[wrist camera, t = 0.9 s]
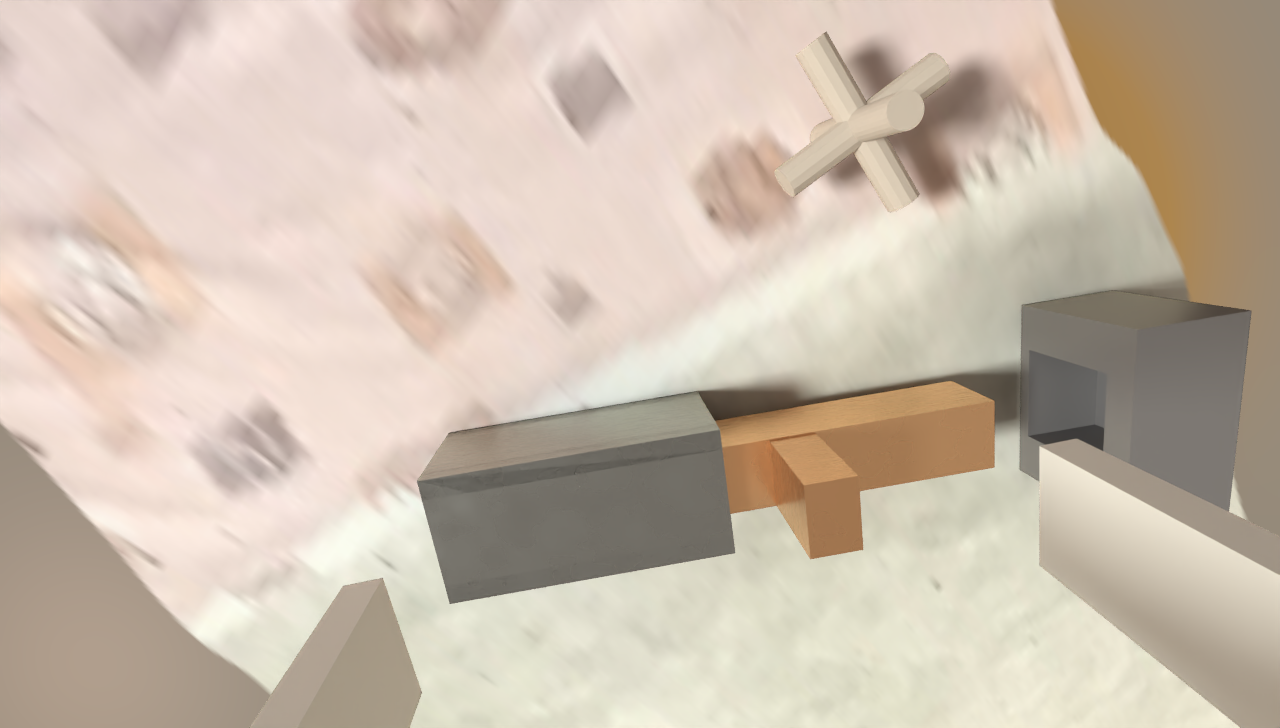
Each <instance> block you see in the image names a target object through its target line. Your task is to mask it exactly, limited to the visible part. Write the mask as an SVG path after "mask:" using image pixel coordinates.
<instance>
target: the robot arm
mask: <svg viewBox="0 0 1280 728" xmlns="http://www.w3.org/2000/svg"><path fill="white" fill-rule="evenodd" d="M1039 565H1040V566H1041V567H1042V568H1043V569H1045V570H1046V571H1047V572H1048V573H1049V574H1051V575H1052V576H1053V577H1054V578H1056V579H1057V580H1058V581H1059V582H1061V583H1062V584H1063V585H1064V586H1066V587H1067V588H1068V589H1069V590H1071V591H1072V592H1073V593H1074V594H1076V595H1077V596H1078V597H1079V598H1080V599H1082V600H1083V601H1084V602H1085V603H1087V604H1088V605H1089V606H1090V607H1092V608H1093V609H1094V610H1095V611H1097V612H1098V613H1099V614H1100V615H1102V616H1103V617H1104V618H1105V619H1106V620H1108V621H1109V622H1110V623H1111V624H1113V625H1114V626H1115V627H1116V628H1118V629H1119V630H1120V631H1121V632H1123V633H1124V634H1125V635H1126V636H1128V637H1129V638H1130V639H1131V640H1133V641H1134V642H1135V643H1136V644H1137V645H1139V646H1140V647H1141V648H1142V649H1144V650H1145V651H1146V652H1147V653H1149V654H1150V655H1151V656H1152V657H1154V658H1155V659H1156V660H1157V661H1159V662H1160V663H1161V664H1162V665H1163V666H1165V667H1166V668H1167V669H1168V670H1170V671H1171V672H1172V673H1173V674H1175V675H1176V676H1177V677H1178V678H1180V679H1181V680H1182V681H1183V682H1185V683H1186V684H1187V685H1188V686H1190V687H1191V688H1192V689H1193V690H1194V691H1196V692H1197V693H1198V694H1199V695H1201V696H1202V697H1203V698H1204V699H1206V700H1207V701H1208V702H1209V703H1211V704H1212V705H1213V706H1214V707H1216V708H1217V709H1218V710H1219V711H1221V712H1222V713H1223V714H1224V715H1225V716H1227V717H1228V718H1229V719H1230V720H1232V721H1233V722H1234V723H1235V724H1237V725H1238V726H1239V727H1240V728H1280V536H1278V535H1276V534H1274V533H1272V532H1270V531H1268V530H1266V529H1264V528H1261V527H1259V526H1257V525H1255V524H1253V523H1251V522H1249V521H1247V520H1245V519H1243V518H1241V517H1239V516H1237V515H1235V514H1232V513H1230V512H1228V511H1226V510H1224V509H1222V508H1220V507H1218V506H1216V505H1214V504H1212V503H1210V502H1207V501H1205V500H1203V499H1201V498H1199V497H1197V496H1195V495H1193V494H1191V493H1189V492H1187V491H1185V490H1183V489H1180V488H1178V487H1176V486H1174V485H1172V484H1170V483H1168V482H1166V481H1164V480H1162V479H1160V478H1158V477H1156V476H1153V475H1151V474H1149V473H1147V472H1145V471H1143V470H1141V469H1139V468H1137V467H1135V466H1133V465H1131V464H1129V463H1126V462H1124V461H1122V460H1120V459H1118V458H1116V457H1114V456H1112V455H1110V454H1108V453H1106V452H1104V451H1102V450H1099V449H1097V448H1095V447H1093V446H1091V445H1089V444H1087V443H1085V442H1083V441H1081V440H1079V439H1072V440H1067V441H1062V442H1057V443H1052V444H1047V445H1042V446H1039ZM421 694H422V691H421V688H420V686H419V683H418V680H417V677H416V674H415V671H414V668H413V665H412V662H411V659H410V656H409V653H408V650H407V648H406V645H405V642H404V639H403V636H402V633H401V630H400V627H399V624H398V621H397V618H396V615H395V613H394V610H393V607H392V604H391V601H390V598H389V595H388V592H387V589H386V586H385V583H384V580H383V578H380V579H375V580H370V581H365V582H360V583H355V584H350V585H345V586H343V587H342V589H341V590H340V592H339V593H338V595H337V596H336V598H335V599H334V601H333V602H332V604H331V605H330V607H329V608H328V610H327V611H326V613H325V614H324V616H323V617H322V619H321V620H320V622H319V623H318V625H317V626H316V628H315V629H314V631H313V632H312V634H311V635H310V637H309V638H308V640H307V641H306V643H305V644H304V646H303V647H302V649H301V650H300V652H299V653H298V655H297V656H296V658H295V659H294V661H293V662H292V664H291V666H290V667H289V669H288V670H287V672H286V673H285V675H284V676H283V678H282V679H281V681H280V682H279V684H278V685H277V687H276V688H275V690H274V691H273V693H272V694H271V696H270V697H269V699H268V700H267V702H266V703H265V705H264V706H263V708H262V710H261V711H260V712H259V714H258V715H257V717H256V718H255V720H254V722H253V723H252V724H251V726H250V727H249V728H410V725H411V722H412V719H413V716H414V714H415V711H416V708H417V705H418V702H419V699H420V697H421Z"/></svg>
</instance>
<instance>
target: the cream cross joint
mask: <svg viewBox="0 0 1280 728" xmlns="http://www.w3.org/2000/svg"><path fill="white" fill-rule="evenodd" d="M795 56H796V57H797V59H798V61H799V62H800V64H801V66H802V68H803V69H804V71H805V73H806V74H807V76H808V78H809V79H810V81H811V83H812V84H813V86H814V88H815V89H816V91H817V93H818V94H819V96H820V98H821V100H822V101H823V103H824V105H825V106H826V108H827V110H828V111H829V113H830V115H831V116H832V119H829V120H827V121H824V122H822V123H820V124H818V125H816V126H815V127H814V129H813V130H812V132H811V135H810V142H811V143H810V144H809V145H807V146H806V147H805V148H803V149H802V150H801V151H799V152H798V153H797V154H795V155H794V156H793V157H791V158H790V159H789V160H787V161H786V162H785V163H783V164H782V165H781V166H780V167H778V168H777V169H776V170H775V176H776V178H777V180H778V182H779V184H780V185H781V187H782V188H783V189H784V191H785V192H786V193H787V194H788V195H789V196H792V197H794V196H796V195H797V194H798V193H800V192H801V191H802V190H804V189H805V188H806V187H808V186H809V185H810V184H812V183H813V182H814V181H816V180H817V179H818V178H820V177H821V176H822V175H824V174H825V173H826V172H828V171H829V170H830V169H832V168H833V167H834V166H836V165H837V164H838V163H840V162H841V161H842V160H844V159H845V158H847V157H848V156H849V155H851V154H852V153H854V155H855V157H856V158H857V160H858V162H859V164H860V165H861V167H862V169H863V170H864V172H865V174H866V175H867V177H868V179H869V180H870V182H871V184H872V185H873V187H874V189H875V190H876V192H877V194H878V195H879V197H880V199H881V201H882V202H883V204H884V206H885V207H886V209H887V211H888V212H895V211H897V210H899V209H902V208H904V207H905V206H907V205H908V204H910V203H912V202H913V201H914V200H915V199H916V198H917V197H918V196H919V192H918V190H917V189H916V187H915V185H914V184H913V182H912V180H911V178H910V177H909V175H908V173H907V171H906V170H905V168H904V166H903V164H902V163H901V161H900V159H899V157H898V156H897V154H896V152H895V150H894V149H893V147H892V145H891V143H890V142H889V140H888V138H887V136H890V135H894V134H898V133H901V132H905V131H909V130H911V129H913V128H915V127H916V126H917V125H918V124H919V123H920V121H921V120H922V117H923V115H924V102H923V100H924V99H925V98H927V97H928V96H930V95H931V94H932V93H934V92H935V91H936V90H938V89H939V88H940V87H942V86H943V85H944V84H946V83H947V82H948V81H949V80H950V70H949V67H948V64H947V63H946V62H945V60H944V59H943V58H942V57H941V56H939V55H938V54H936V53H929V54H928V55H927V56H925V57H924V58H923V59H921V60H920V61H919V62H917V63H916V64H915V65H913V66H912V67H911V68H909V69H908V70H907V71H905V72H904V73H903V74H902V75H900V76H899V77H898V78H896V79H895V80H894V81H892V82H891V83H890V84H888V85H887V86H886V87H884V88H883V89H882V90H880V91H879V92H878V93H876V94H875V95H874V96H872V97H871V98H870V99H868V100H867V101H866V100H865V98H864V96H863V95H862V93H861V91H860V89H859V88H858V86H857V84H856V82H855V81H854V79H853V77H852V75H851V74H850V72H849V70H848V68H847V67H846V65H845V63H844V62H843V60H842V58H841V56H840V55H839V53H838V51H837V49H836V48H835V46H834V44H833V42H832V41H831V39H830V37H829V35H828V34H827V32H825V33H824V34H822V35H821V36H820V37H819V38H817V39H816V40H815V41H813V42H812V43H811V44H809V45H808V46H807V47H806V48H804V49H803V50H802V51H800V52H799V53H798V54H797V55H795Z"/></svg>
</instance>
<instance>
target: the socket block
mask: <svg viewBox="0 0 1280 728" xmlns="http://www.w3.org/2000/svg"><path fill="white" fill-rule="evenodd" d="M1250 320H1251V311H1250V310H1244V309H1237V308H1230V307H1223V306H1216V305H1209V304H1202V303H1196V302H1189V301H1182V300H1175V299H1168V298H1161V297H1154V296H1147V295H1141V294H1134V293H1127V292H1120V291H1113V290H1111V291H1105V292H1099V293H1093V294H1087V295H1081V296H1075V297H1069V298H1063V299H1057V300H1051V301H1045V302H1039V303H1033V304H1027V305H1022V329H1021V406H1020V470H1021V471H1023V472H1024V473H1026V474H1028V475H1029V476H1031V477H1033V478H1034V479H1036V480H1038V481H1039V446H1042V445H1047V444H1052V443H1057V442H1062V441H1067V440H1072V439H1079V440H1081V441H1083V442H1085V443H1087V444H1089V445H1091V446H1093V447H1095V448H1097V449H1099V450H1102V451H1104V452H1106V453H1108V454H1110V455H1112V456H1114V457H1116V458H1118V459H1120V460H1122V461H1124V462H1126V463H1129V464H1131V465H1133V466H1135V467H1137V468H1139V469H1141V470H1143V471H1145V472H1147V473H1149V474H1151V475H1153V476H1156V477H1158V478H1160V479H1162V480H1164V481H1166V482H1168V483H1170V484H1172V485H1174V486H1176V487H1178V488H1180V489H1183V490H1185V491H1187V492H1189V493H1191V494H1193V495H1195V496H1197V497H1199V498H1201V499H1203V500H1205V501H1207V502H1210V503H1212V504H1214V505H1216V506H1218V507H1220V508H1222V509H1224V510H1226V511H1228V512H1229V507H1230V498H1231V489H1232V480H1233V471H1234V462H1235V453H1236V444H1237V435H1238V426H1239V417H1240V409H1241V400H1242V391H1243V381H1244V373H1245V364H1246V354H1247V346H1248V338H1249V328H1250Z"/></svg>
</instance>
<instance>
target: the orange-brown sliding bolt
mask: <svg viewBox="0 0 1280 728" xmlns="http://www.w3.org/2000/svg"><path fill="white" fill-rule="evenodd" d="M715 422H716V424H717V426H718V427H719V429H720V434H721V442H722V450H723V459H724V467H725V475H726V483H727V491H728V499H729V507H730V514H732V513H738V512H743V511H749V510H755V509H761V508H766V507H772V506H777V507H778V509H779V510H780V512H781V513H782V515H783V516H784V518H785V520H786V521H787V523H788V524H789V526H790V528H791V529H792V531H793V532H794V534H795V535H796V537H797V539H798V540H799V542H800V543H801V545H802V547H803V548H804V550H805V551H806V553H807V555H808V556H809V558H810V559H814V558H819V557H825V556H831V555H836V554H842V553H847V552H853V551H858V550H863V538H862V522H861V506H860V491H863V490H869V489H874V488H880V487H886V486H892V485H897V484H903V483H909V482H914V481H920V480H926V479H931V478H937V477H943V476H948V475H954V474H960V473H966V472H971V471H977V470H983V469H988V468H994V441H995V401H994V400H992V399H989V398H987V397H985V396H983V395H981V394H979V393H977V392H974V391H972V390H970V389H968V388H966V387H964V386H961V385H959V384H957V383H955V382H953V381H947V382H941V383H935V384H929V385H923V386H917V387H911V388H905V389H900V390H894V391H888V392H882V393H876V394H870V395H864V396H858V397H852V398H846V399H841V400H835V401H829V402H823V403H817V404H811V405H805V406H799V407H793V408H787V409H782V410H776V411H770V412H764V413H758V414H752V415H746V416H740V417H734V418H728V419H723V420H717V421H715Z"/></svg>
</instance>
